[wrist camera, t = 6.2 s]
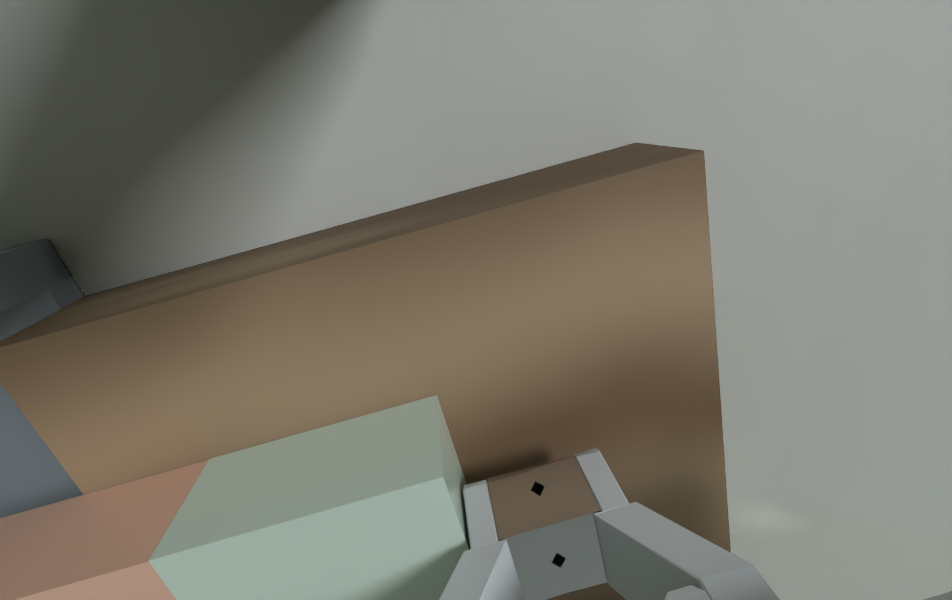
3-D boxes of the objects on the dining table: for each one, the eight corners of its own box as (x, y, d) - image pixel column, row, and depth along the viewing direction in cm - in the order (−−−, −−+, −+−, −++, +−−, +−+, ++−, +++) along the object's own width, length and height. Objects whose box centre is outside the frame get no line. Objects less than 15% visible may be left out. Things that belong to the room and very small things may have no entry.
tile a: (490, 556, 12) (508, 660, 10) (299, 611, 12) (271, 730, 10) (436, 394, 10) (443, 477, 8) (209, 458, 10) (148, 560, 8)
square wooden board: (678, 500, 16) (732, 579, 14) (281, 616, 16) (253, 720, 13) (635, 142, 12) (704, 150, 9) (83, 296, 12) (-22, 353, 9)
